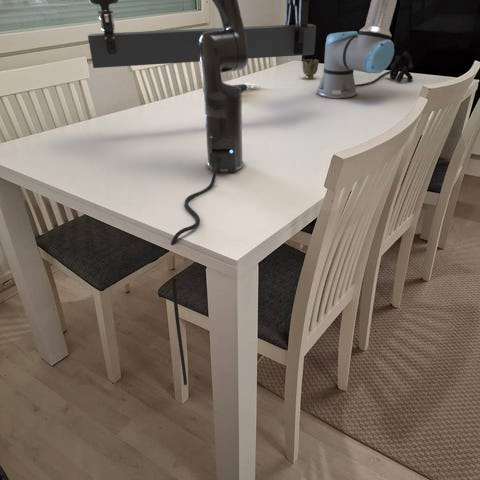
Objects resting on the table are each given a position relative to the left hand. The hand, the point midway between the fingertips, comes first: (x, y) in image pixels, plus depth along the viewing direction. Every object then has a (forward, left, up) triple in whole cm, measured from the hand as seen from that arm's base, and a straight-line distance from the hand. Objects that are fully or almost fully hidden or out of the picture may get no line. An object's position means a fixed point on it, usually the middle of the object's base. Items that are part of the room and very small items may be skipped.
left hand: (111, 51), depth 127 cm
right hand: (+17, -53, -3) cm, 56 cm away
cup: (+81, -64, -25) cm, 107 cm away
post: (+9, -27, -4) cm, 28 cm away
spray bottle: (+54, -31, -25) cm, 67 cm away
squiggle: (+77, -105, -25) cm, 132 cm away
